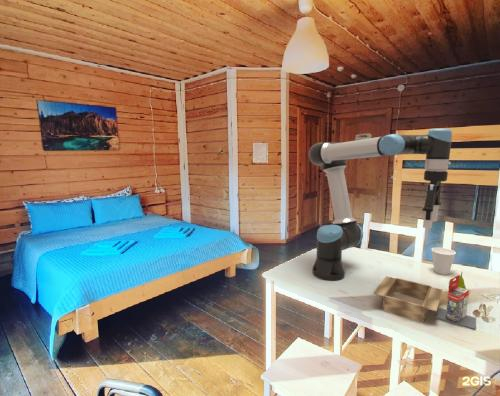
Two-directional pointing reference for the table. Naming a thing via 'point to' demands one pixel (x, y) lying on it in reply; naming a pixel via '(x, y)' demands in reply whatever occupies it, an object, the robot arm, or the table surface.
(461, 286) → the fruit
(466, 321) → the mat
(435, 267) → the cup
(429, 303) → the carton
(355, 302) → the table surface
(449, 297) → the ink box
